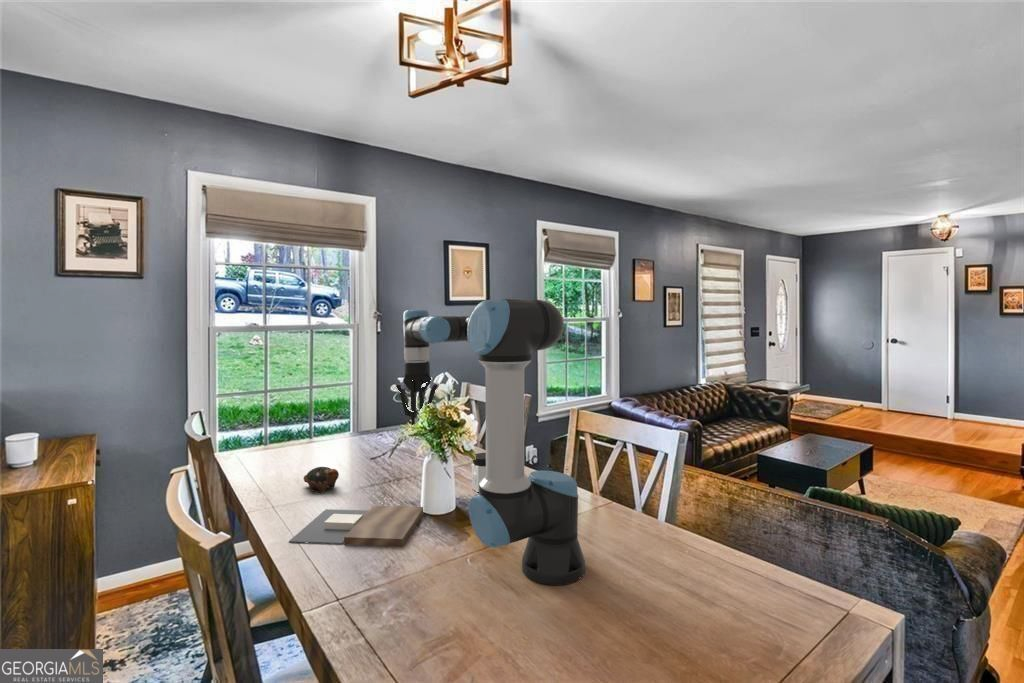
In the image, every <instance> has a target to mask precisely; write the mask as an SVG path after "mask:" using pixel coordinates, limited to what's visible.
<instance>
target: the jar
mask: <svg viewBox="0 0 1024 683" xmlns="http://www.w3.org/2000/svg"><path fill="white" fill-rule="evenodd" d="M474 455H476V460H473V459H472V463H471V489H472V488H473V489H474V490H476V491H478V492H479V482H480V480H481V479H482V478H483V477H484V476H485V475H486V452H479V453H478V452H477V453H474ZM474 490H473V491H474Z"/></svg>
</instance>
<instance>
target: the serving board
mask: <svg viewBox="0 0 1024 683" xmlns="http://www.w3.org/2000/svg"><path fill="white" fill-rule="evenodd" d="M423 507H424V506H407V505H406V506H402V505H401V506H400V505H372V506H371V508H370V509H369V511H368V512H367V513H366V514H365V515H364V516H363V517H362V518H361V519H360V521H359V522H358V523H357V524H356V525H355V526H354V527H353V528H352V529H351V530H350V531H349V532H348V533H347V534H346V536H345V537H344V543H343V545H347V544H353V545H354V546H377V547H378V546H381V547H384V546H385V547H403V546H404V545H405V543H406V541H407V540H408V538H409V536H411V534H412V532H413V531H414V529H415V528H416V526H417V524H418V523H419V521H420V520H421V518H422V517H423V515H424V514H423Z"/></svg>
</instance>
